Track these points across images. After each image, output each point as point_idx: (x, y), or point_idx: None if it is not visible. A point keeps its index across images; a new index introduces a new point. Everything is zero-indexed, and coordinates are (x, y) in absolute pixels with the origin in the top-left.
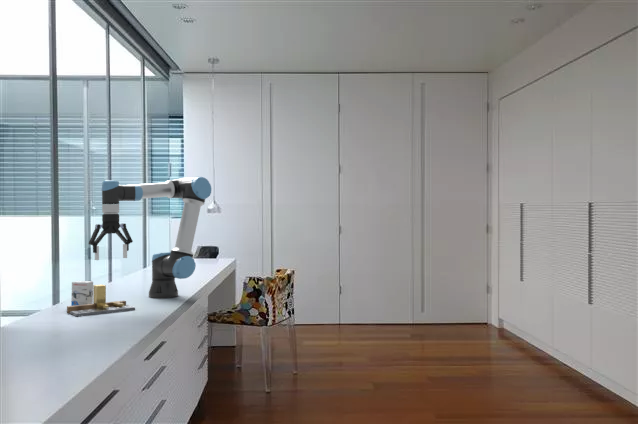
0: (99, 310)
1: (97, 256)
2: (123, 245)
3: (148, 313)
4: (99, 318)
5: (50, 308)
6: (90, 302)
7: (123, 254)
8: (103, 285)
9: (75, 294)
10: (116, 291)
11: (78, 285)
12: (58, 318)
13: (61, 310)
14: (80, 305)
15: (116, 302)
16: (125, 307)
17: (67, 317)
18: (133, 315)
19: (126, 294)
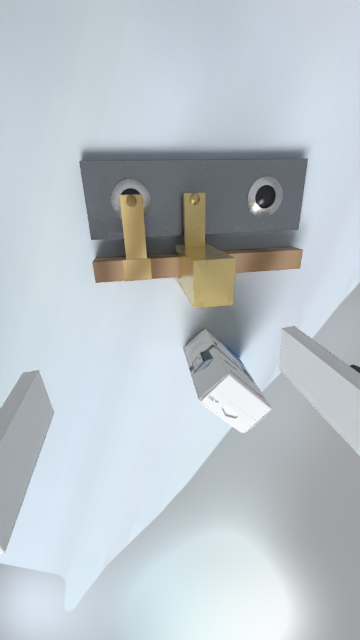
0: (220, 179)
1: (311, 340)
2: (5, 524)
3: (46, 10)
4: (261, 46)
5: None
6: (196, 343)
7: (42, 428)
8: (201, 268)
9: (245, 372)
10: (50, 549)
11: (251, 387)
12: (352, 164)
13: (282, 313)
14: (262, 259)
15: (135, 251)
16: (115, 186)
17: (326, 164)
18: (124, 7)
19: (33, 498)
